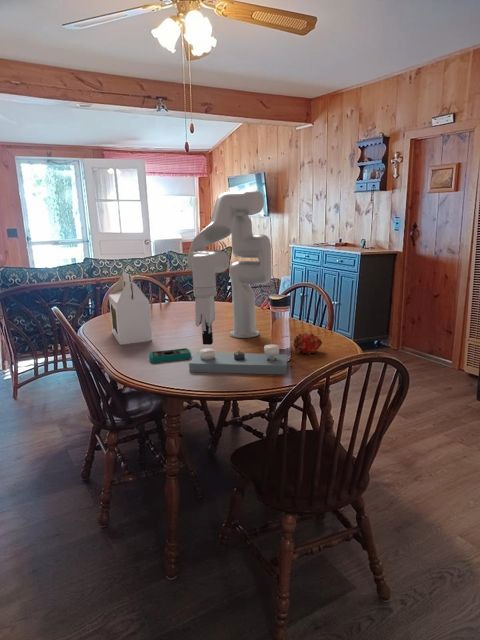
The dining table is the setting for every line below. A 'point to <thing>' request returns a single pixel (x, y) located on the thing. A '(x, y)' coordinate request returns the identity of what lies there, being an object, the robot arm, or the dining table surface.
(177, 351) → the digital multimeter
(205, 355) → the knob
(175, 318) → the dining table surface
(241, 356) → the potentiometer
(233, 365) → the mount board
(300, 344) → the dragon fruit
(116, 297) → the gable box
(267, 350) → the knob
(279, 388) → the dining table surface
